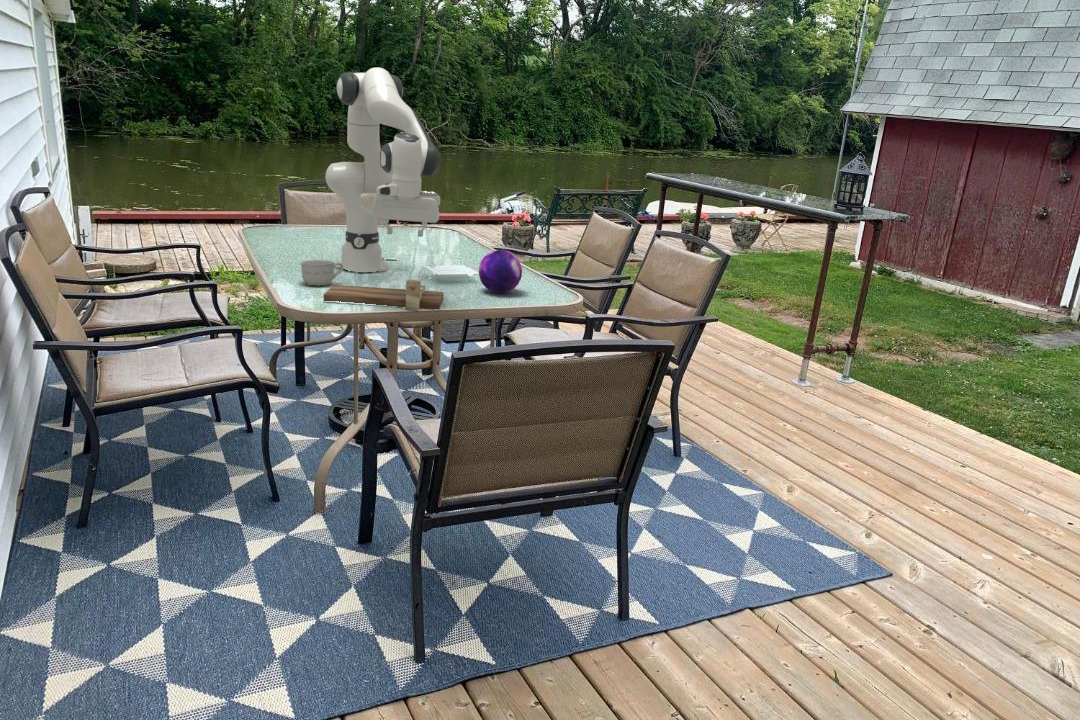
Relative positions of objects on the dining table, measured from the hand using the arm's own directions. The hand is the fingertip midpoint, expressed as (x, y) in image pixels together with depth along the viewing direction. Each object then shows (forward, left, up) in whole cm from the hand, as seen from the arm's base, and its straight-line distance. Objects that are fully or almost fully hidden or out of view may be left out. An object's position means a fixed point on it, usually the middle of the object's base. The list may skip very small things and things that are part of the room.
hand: (405, 235), depth 248 cm
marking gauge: (-2, +3, -22) cm, 22 cm away
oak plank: (-4, -6, -22) cm, 24 cm away
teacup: (-21, -30, -23) cm, 43 cm away
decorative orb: (-26, +30, -23) cm, 45 cm away
